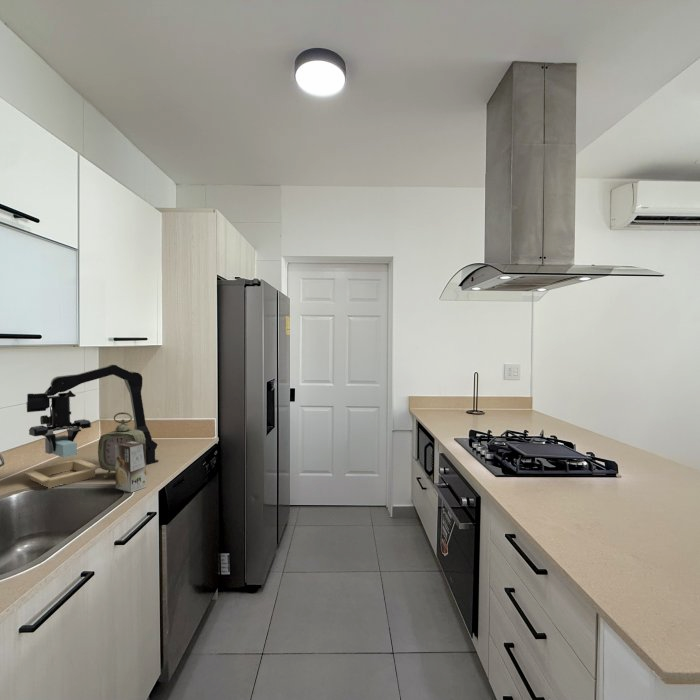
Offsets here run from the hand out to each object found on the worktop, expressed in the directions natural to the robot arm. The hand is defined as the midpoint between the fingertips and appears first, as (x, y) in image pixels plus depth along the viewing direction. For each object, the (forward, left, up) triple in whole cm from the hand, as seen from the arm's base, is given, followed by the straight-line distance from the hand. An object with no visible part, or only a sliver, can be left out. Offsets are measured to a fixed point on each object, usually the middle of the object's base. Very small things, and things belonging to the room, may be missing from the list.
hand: (61, 449), depth 156 cm
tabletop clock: (-18, -14, -11) cm, 25 cm away
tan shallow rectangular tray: (-1, 0, -11) cm, 11 cm away
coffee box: (-33, -9, -11) cm, 36 cm away
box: (-1, 0, -1) cm, 2 cm away
